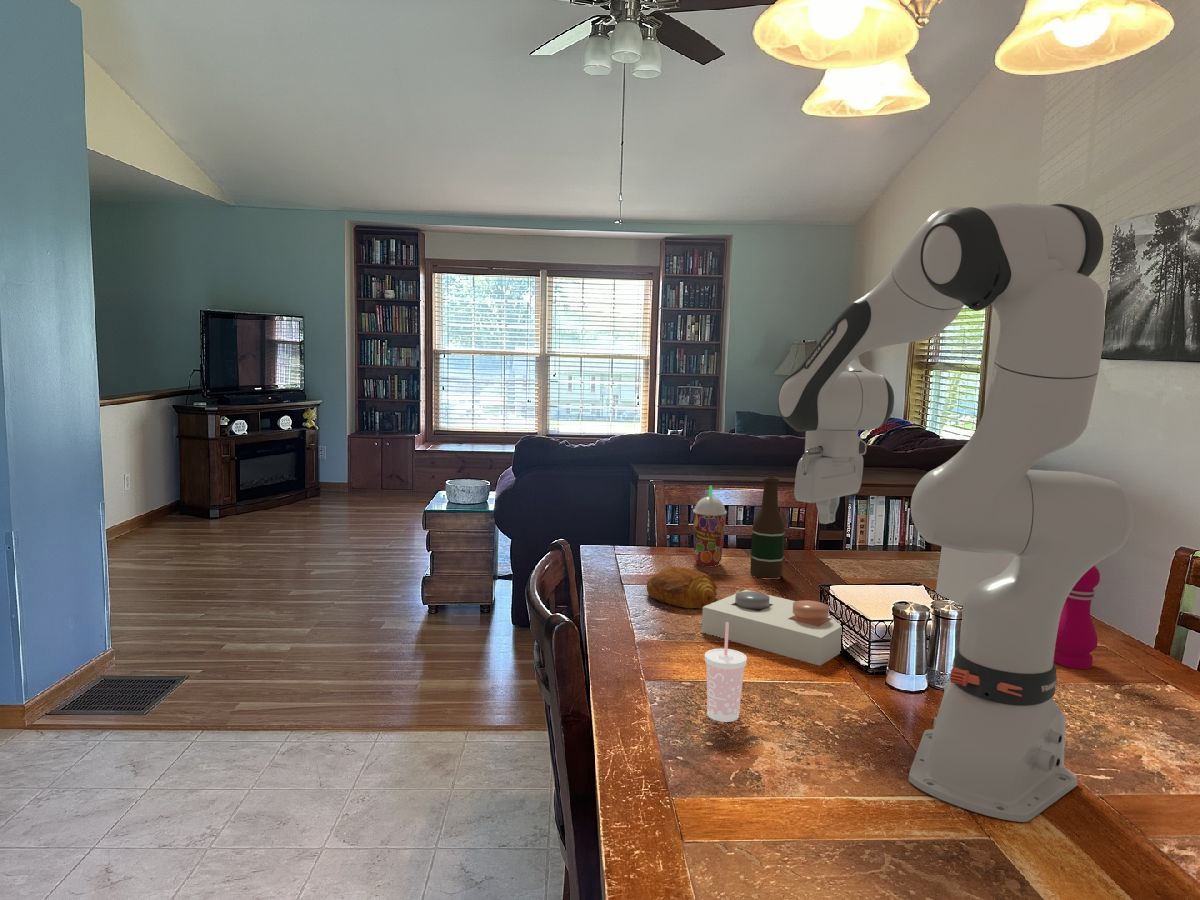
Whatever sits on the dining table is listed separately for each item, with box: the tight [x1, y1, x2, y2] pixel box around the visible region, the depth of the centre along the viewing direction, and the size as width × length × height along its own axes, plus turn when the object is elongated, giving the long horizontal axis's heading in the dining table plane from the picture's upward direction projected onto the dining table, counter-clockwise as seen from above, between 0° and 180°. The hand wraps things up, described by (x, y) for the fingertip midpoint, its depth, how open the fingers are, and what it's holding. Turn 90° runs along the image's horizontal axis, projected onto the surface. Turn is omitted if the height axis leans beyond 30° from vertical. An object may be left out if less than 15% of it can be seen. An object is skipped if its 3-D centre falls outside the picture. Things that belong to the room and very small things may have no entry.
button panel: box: [701, 589, 842, 667], centre depth 154 cm, size 16×24×5 cm, turn 50°
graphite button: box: [735, 591, 770, 611], centre depth 158 cm, size 6×6×6 cm
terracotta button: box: [792, 599, 830, 627], centre depth 150 cm, size 6×6×6 cm
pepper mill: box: [1053, 565, 1101, 670], centre depth 144 cm, size 7×7×20 cm
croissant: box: [646, 566, 718, 609], centre depth 176 cm, size 14×16×8 cm
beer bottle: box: [750, 475, 786, 579], centre depth 196 cm, size 8×8×24 cm
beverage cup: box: [704, 622, 748, 723], centre depth 120 cm, size 6×6×14 cm
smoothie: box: [692, 485, 728, 567], centre depth 205 cm, size 8×8×20 cm
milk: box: [935, 546, 1015, 605], centre depth 166 cm, size 12×12×26 cm
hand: (826, 522), depth 146 cm, fingers closed
